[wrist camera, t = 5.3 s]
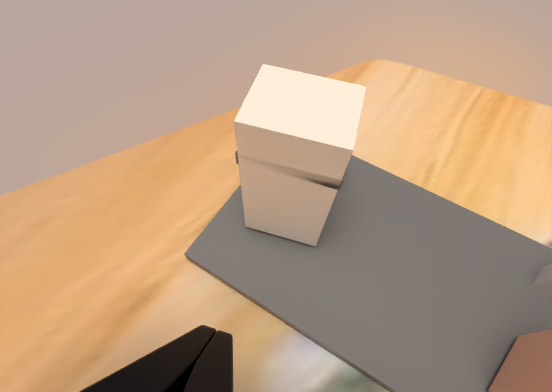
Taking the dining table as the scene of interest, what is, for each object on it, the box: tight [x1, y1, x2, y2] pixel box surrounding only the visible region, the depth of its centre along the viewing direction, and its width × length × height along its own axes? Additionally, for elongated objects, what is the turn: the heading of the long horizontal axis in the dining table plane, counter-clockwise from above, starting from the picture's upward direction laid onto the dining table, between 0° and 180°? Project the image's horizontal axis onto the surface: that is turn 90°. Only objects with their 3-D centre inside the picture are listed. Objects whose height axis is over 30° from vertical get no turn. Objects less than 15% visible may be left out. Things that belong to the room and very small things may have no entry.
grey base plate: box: [184, 155, 552, 392], centre depth 19 cm, size 14×27×5 cm, turn 59°
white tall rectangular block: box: [234, 64, 366, 246], centre depth 18 cm, size 4×5×10 cm
